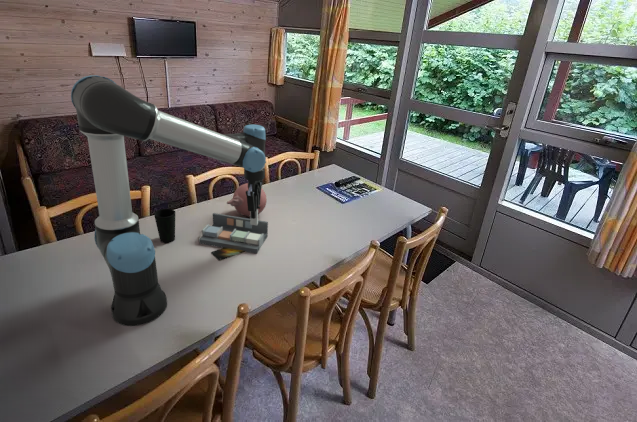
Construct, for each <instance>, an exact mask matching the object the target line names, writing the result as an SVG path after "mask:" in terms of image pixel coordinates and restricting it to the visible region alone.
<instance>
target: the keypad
mask: <svg viewBox="0 0 637 422" xmlns="http://www.w3.org/2000/svg"><path fill="white" fill-rule="evenodd" d="M209 226H210V223H207V224H206V225H205V226H204V227H203V228H202V229H201V235H202V236H200V238H199V239H198V243H199V245H200V244H201V245H204V246H212V247H217V248H224V247H225V248H231V249H237V250H242V251H246V252H245V253H250V254H258V253H259V251H260V249H261V248H262V247H263V245H264V243H265V241H266V240H267V238H268V229H269V221H266V220H259V219H258V225H250V218H246V217H240V216H233V215H228V214H222V213H217V212H213V213H212V224H211V226H214V227H220V229H219V230H218V231H217V232H216V237H210V236H205V232H204V231H205V230H206V229H207V228H208V227H209ZM236 230H237V231H243V232H247V234H246V235H245V237H244V243H241V242H239V241H233V240H232V235H233V234H234V233H235V232H236ZM222 231H229V232H232V233H231V234H230V240H224V239H218V236H219V235H220V234H221V232H222ZM249 233H255V234H261V236H260V238H259V239H258V245H256V244H251V243H246V238H247V236H248V235H249Z"/></svg>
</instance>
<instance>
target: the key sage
mask: <svg viewBox="0 0 637 422" xmlns="http://www.w3.org/2000/svg"><path fill="white" fill-rule="evenodd" d="M246 234H247V232H243V231H237V230H236V232H235V233H234V234H233V235H232V240H233V241H235V242H244V237H245V235H246Z"/></svg>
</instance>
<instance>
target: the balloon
mask: <svg viewBox="0 0 637 422" xmlns="http://www.w3.org/2000/svg"><path fill="white" fill-rule="evenodd" d="M248 183H249V182H247V183H243V184H241V185H239V186H238V187H237V188H236V189H235V190H234V193H233V194H232V195H233V196H232V198H231V199H230V200H228V201H227V202H226V204H227V205H230V206H231V207H234V209H235V210H236V211H237V212H238V213H239V214H240V215H243V216H245V217H250V211H248V205H247V196H246V191H248ZM259 206H260V209H258V208H257V209H258V215H259V214H261V213H262V212H263V211H264V209H265V208H266V206H267V194H266V191H264V189H263V188H261V199H260V205H259Z"/></svg>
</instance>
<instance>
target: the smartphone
mask: <svg viewBox="0 0 637 422" xmlns="http://www.w3.org/2000/svg"><path fill="white" fill-rule="evenodd" d="M241 243H244V242H241ZM244 253H247V252H246V251H242V250H237V249H231V248H225V247H224V248H222V247H220V248H219V249H216V250H213V251H211V252H210V254H211V255H212V256H214V258H215V259H217V261H219V262H221V261H224V260H227V259H230V258H232V257H235V256H238V255H241V254H244Z"/></svg>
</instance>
